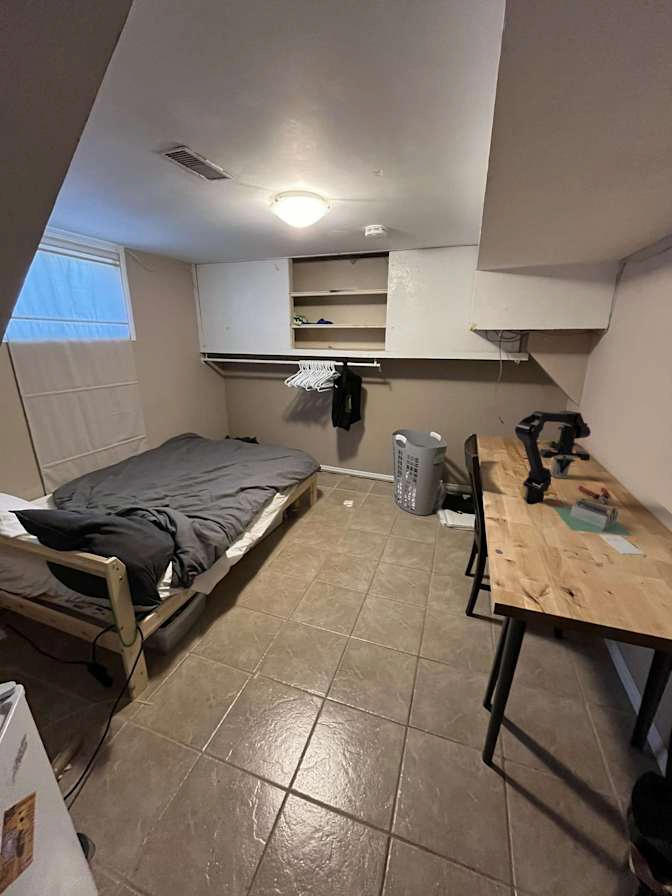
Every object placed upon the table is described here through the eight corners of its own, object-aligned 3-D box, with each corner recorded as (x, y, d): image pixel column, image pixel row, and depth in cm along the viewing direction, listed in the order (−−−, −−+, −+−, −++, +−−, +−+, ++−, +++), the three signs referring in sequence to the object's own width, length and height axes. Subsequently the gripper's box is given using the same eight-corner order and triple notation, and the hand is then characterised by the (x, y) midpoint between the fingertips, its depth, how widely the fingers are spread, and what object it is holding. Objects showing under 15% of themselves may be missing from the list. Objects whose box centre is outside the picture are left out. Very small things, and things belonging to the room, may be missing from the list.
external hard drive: (620, 557, 122) (596, 538, 134) (645, 558, 121) (619, 539, 133) (621, 553, 121) (597, 534, 133) (646, 554, 121) (620, 535, 133)
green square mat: (570, 532, 137) (571, 529, 137) (552, 509, 156) (553, 507, 155) (631, 538, 133) (632, 536, 132) (605, 514, 152) (606, 512, 151)
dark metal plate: (578, 503, 146) (578, 501, 146) (582, 501, 147) (582, 499, 147) (609, 513, 137) (610, 512, 137) (613, 512, 138) (613, 510, 138)
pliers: (592, 506, 161) (593, 500, 160) (576, 489, 179) (577, 484, 179) (622, 509, 158) (624, 503, 157) (603, 492, 176) (604, 487, 176)
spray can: (567, 475, 196) (574, 439, 191) (567, 480, 190) (574, 443, 184) (549, 472, 201) (556, 437, 195) (549, 477, 194) (555, 440, 189)
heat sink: (568, 518, 146) (571, 501, 144) (583, 511, 152) (586, 494, 150) (602, 531, 136) (606, 512, 134) (616, 523, 142) (621, 505, 140)
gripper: (582, 436, 166) (576, 468, 171) (538, 434, 170) (533, 465, 175) (593, 442, 156) (586, 476, 160) (546, 439, 160) (540, 473, 164)
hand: (560, 472), depth 165 cm, fingers closed
